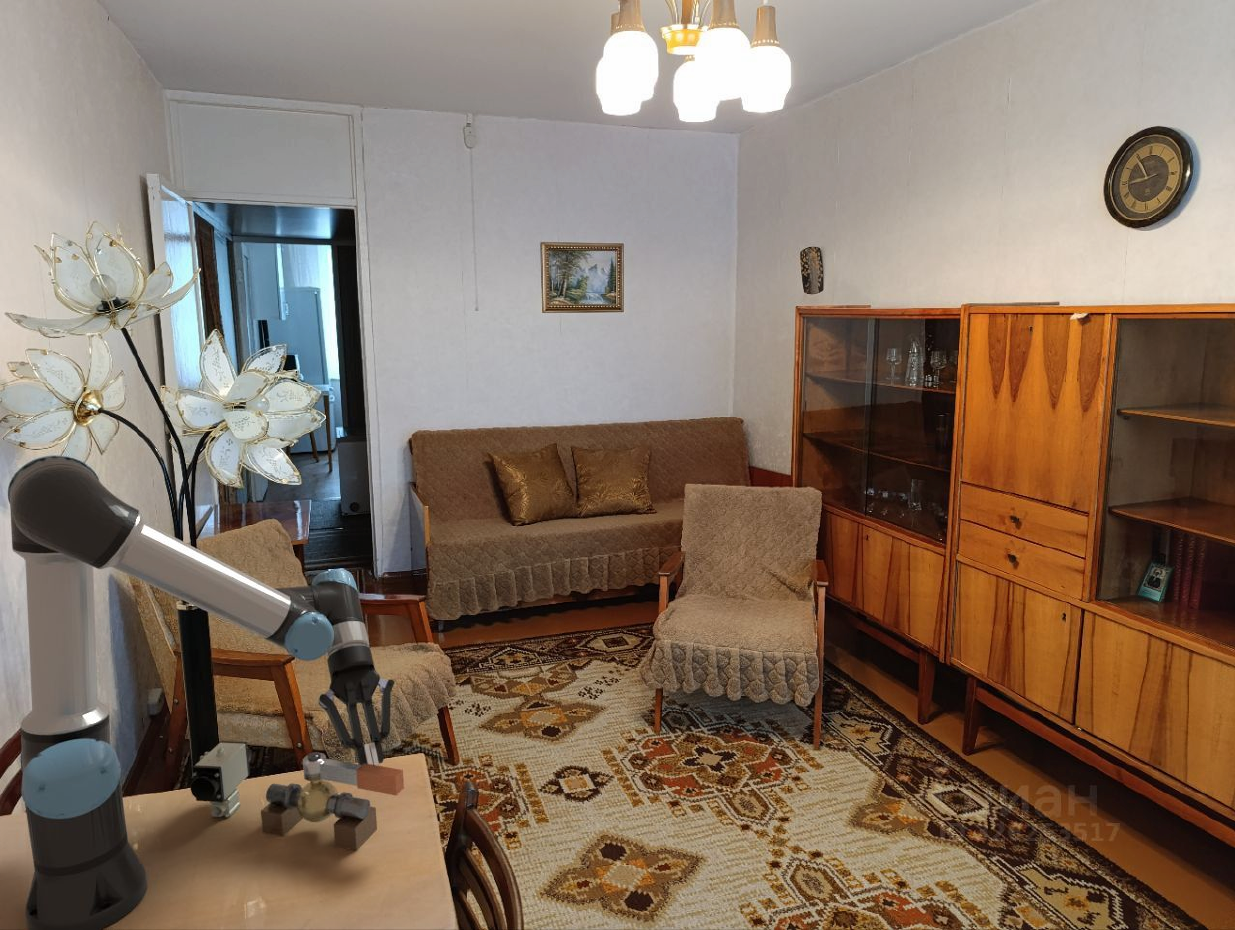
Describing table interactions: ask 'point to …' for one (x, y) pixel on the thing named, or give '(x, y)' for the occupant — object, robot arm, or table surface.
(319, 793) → the valve stand
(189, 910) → the table surface
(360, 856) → the table surface
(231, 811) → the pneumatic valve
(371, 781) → the valve lever
